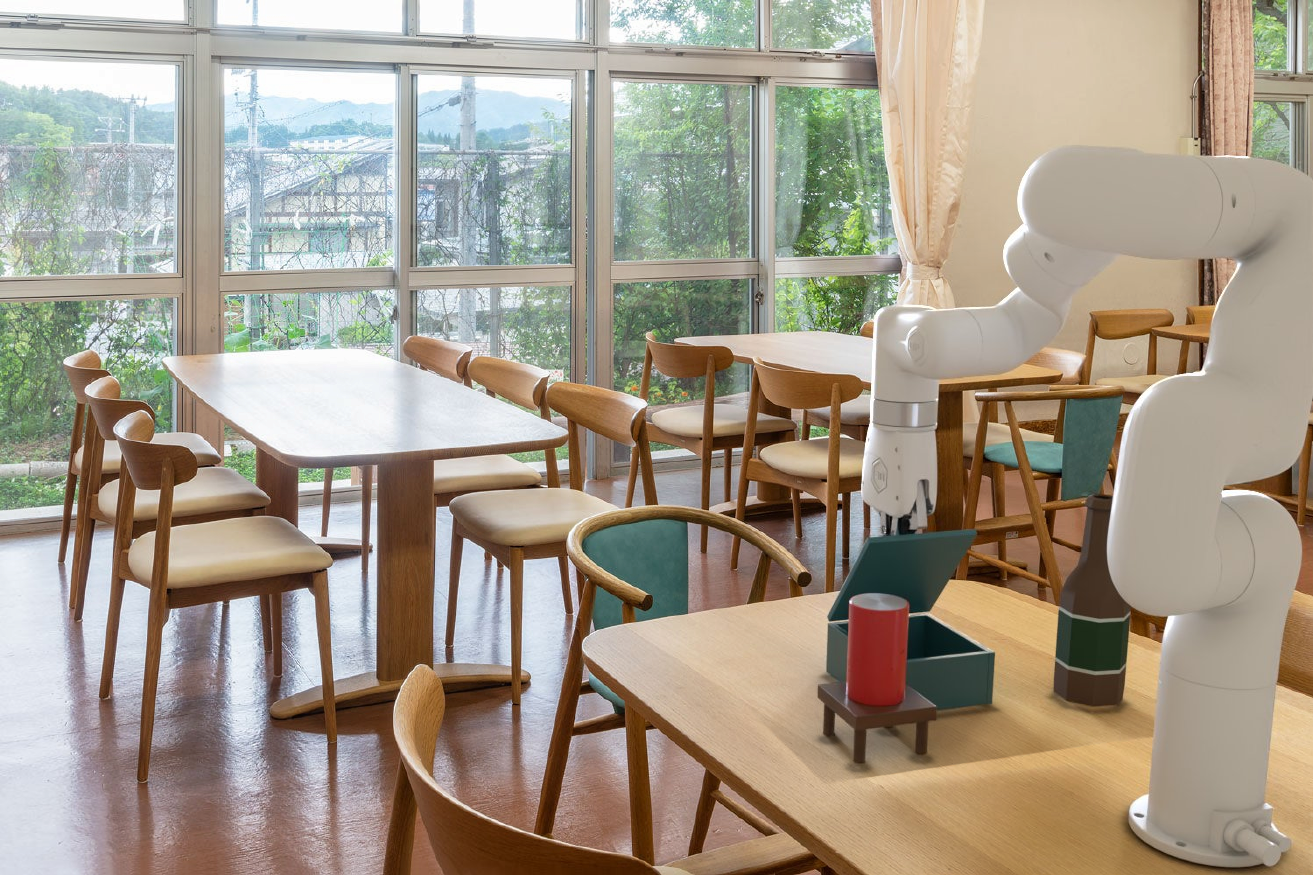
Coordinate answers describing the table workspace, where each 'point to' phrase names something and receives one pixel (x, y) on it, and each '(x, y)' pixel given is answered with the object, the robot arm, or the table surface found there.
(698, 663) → the table surface
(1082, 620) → the beer bottle
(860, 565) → the lid
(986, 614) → the table surface
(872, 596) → the soda can
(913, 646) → the teal open box
